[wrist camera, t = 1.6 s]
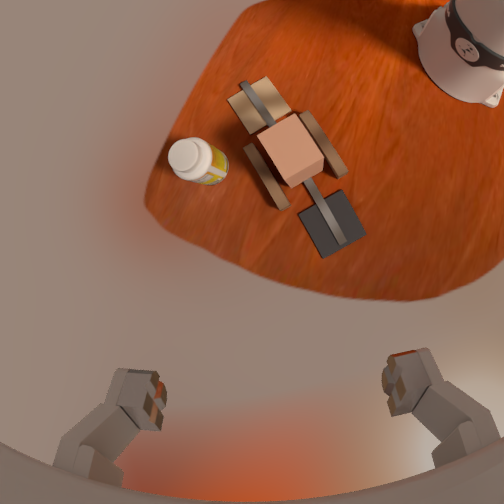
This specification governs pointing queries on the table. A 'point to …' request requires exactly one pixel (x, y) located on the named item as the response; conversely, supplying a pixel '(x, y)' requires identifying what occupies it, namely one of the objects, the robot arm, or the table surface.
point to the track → (278, 193)
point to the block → (292, 150)
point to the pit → (321, 229)
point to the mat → (250, 112)
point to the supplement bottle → (198, 161)
